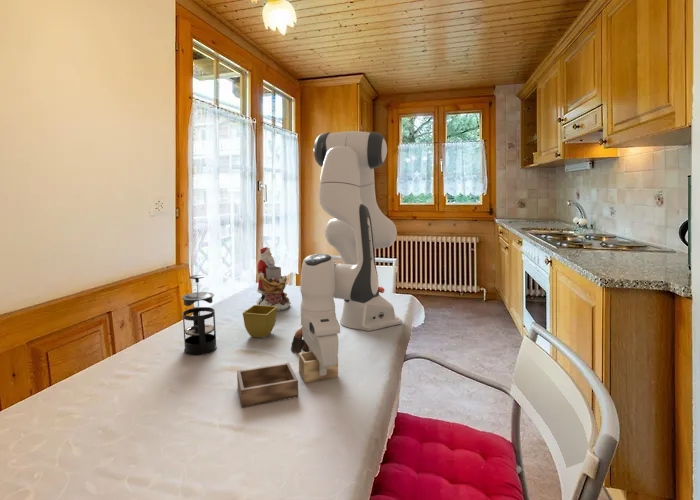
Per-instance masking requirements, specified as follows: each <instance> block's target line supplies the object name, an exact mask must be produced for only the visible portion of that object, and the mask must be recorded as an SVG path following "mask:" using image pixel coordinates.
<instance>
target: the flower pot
mask: <svg viewBox="0 0 700 500" xmlns="http://www.w3.org/2000/svg"><path fill="white" fill-rule="evenodd" d="M277 313H278V311H277V307H275V306H262V305H257V304H254V305H251V306H250V307H249V308H247V309H246V310H244V311H243V312H242V318H243V323H244V327H245V330H246V332H247V333H248V335H249V336H250V337H253V338H261V339H262V338H263V339H264V338H266V337H268V336H269V335H270V334H271V333H272V331H273V329H274V327H275V325H276V321H277Z"/></svg>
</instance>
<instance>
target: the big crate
mask: <svg viewBox="0 0 700 500" xmlns="http://www.w3.org/2000/svg"><path fill="white" fill-rule="evenodd" d="M236 374H237V375H236V378H237V379H236V381H237V391H238V395H239V396H238V397H239V400H240V406H241V408H242V409H243V408H249V407H254V406H258V405H264V404H270V403H274V402H275V403H276V402H279V401H280V402H281V401H285V399H286V400H290V399H289V398H291V399H295V398H294V397H296V398H299V380H298V378H297V375H296V373H295V372H294V369H293V368H292V366H291V364H290V363H289V362H287V363H281V364H280V363H279V364H273V365H267V366H266V365H265V366H260V367H253V368H248V369H241V370H237V371H236Z"/></svg>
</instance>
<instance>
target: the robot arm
mask: <svg viewBox="0 0 700 500" xmlns="http://www.w3.org/2000/svg"><path fill="white" fill-rule="evenodd" d="M313 153H314V154H313V155H314V156H313V157H314V160H315V162H316V163H317V164H318V166H320V167H321V173H320V179H319V190H318V191H319V193H318V197H319V200H318V201H319V204H320V206H321V208H322V209H323V211H324V212H325V214H327V215H329V216H330V217H332V218H331V219H330V220H329V221H328V222H327V223H326V225H325V229H324V236H325V239H326V241H327V243H328V244H329V245H330V246H332V247H333V248H334V249H335V251H337V253H338V254H339V256H340V258H341V260H342V262H343V263H340V262H336V261H333V257H332V255H329V254H327V253H315V254H310V255H307V256H306V257H304V259H303V261H302V264H301V271H300V293H301V294H300V295H301V303H300V325H301V327H302V326H303V329H302V335H303V337H302V340H303V339H304V341H305V342H306V344H307V345H308V347H309V351H312V352H313V354H314V355H315V357H316V358H317V359H318V361H319V363H320V365H319V367H318V372H319V374H320V375H321V376H323V375H326V374H327V367H329V366H334V365H336V363H337V359H338V360H339V335H338V334H340V333H341V325H342V326H343V327H346V328H349V329H355V330H363V331H365V332H366V331H368V332H370V331H375V330H379V329H384V328H387V327H388V328H389V327H392V326H396V325H401V324H400V323H402V321H401V318H400V317H399V316H398V315H396V313H395V309H394V306H393V304H392V303H391V302H390V301H388V299H386V298H385V297H383V296H382V295H381V294H384V293H385V291H386V290H385V288H384V287H382V286H379V275H378V270H377V263H376V256H375V249H383V248H384V249H385V248H389V247H391V246H393V244H394V243H395V241H396V239H397V236H398V231H397V230H398V229H397V227H396V224H395V223H394V221H393V220H391V219H389V218H388V217H387V216H386V215H385V214H384V213H383V212H382V211H381V209H380V207H379V205H378V202H377V198H376V188H375V187H376V185H375V184H376V183H375V169H377V168H380V167H381V166H382V165H383V164H384V163H385V160H386V158H387V155H388V154H387V153H388V147H387V142H386V138H385V136H384V135H383V134H382V133H379V132H377V131H370V132H368V131H360V130H358V131H357V130H349V131H339V132H324V133H320V134H319V135H318V136H317V137H316V139H315V140H314V145H313ZM334 299H338V300H339V299H340V300H343V309H342V313H341V318H340V321H338V318H337V314H336V303H335V300H334ZM339 322H340V323H339ZM340 324H341V325H340Z"/></svg>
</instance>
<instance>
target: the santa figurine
mask: <svg viewBox="0 0 700 500" xmlns="http://www.w3.org/2000/svg"><path fill="white" fill-rule="evenodd" d="M259 251H260V254H259V255H260V256H259V261H258V262H257V274H258V286H257V289H256V292H257V293H259V294H261V297H260V298H259V297H258V299H257V301H256V305H262V306H275V307H277V312H280V311H285V310H288V309H289V308H290V307H291V305H292V303H291V302H290V298H289V296H288V297H287V295H288V294H287V292H284V291H285V289H286V283H287V280H288V278H287V276H286V275H282V267H280V266H276V265H275V264H276V263H275V259H274V256H272V252H271V248H270V247H267V246H265V247H261V249H260V250H259Z"/></svg>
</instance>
